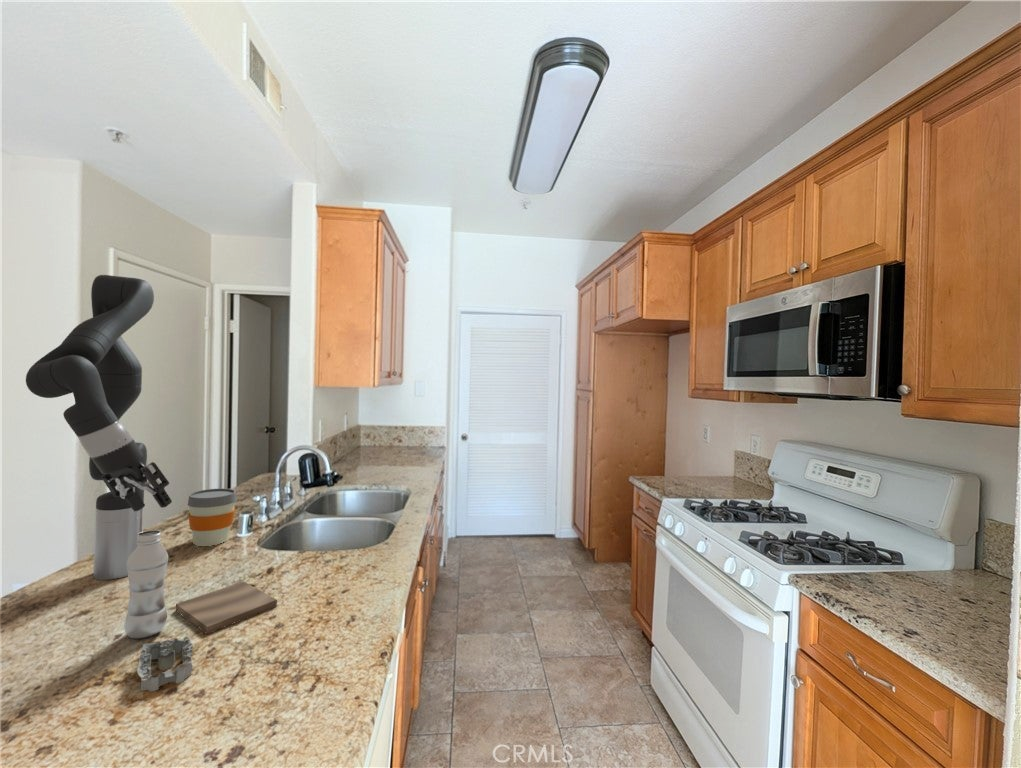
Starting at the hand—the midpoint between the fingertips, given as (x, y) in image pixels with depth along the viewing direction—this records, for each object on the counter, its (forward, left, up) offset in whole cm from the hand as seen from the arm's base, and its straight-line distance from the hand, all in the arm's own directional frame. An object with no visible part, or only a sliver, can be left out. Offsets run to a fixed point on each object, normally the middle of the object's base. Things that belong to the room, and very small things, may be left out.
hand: (153, 507), depth 100 cm
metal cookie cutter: (+30, -7, -22) cm, 38 cm away
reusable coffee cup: (-30, +25, -22) cm, 44 cm away
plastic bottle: (+14, -5, -22) cm, 26 cm away
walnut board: (+16, +9, -21) cm, 28 cm away
